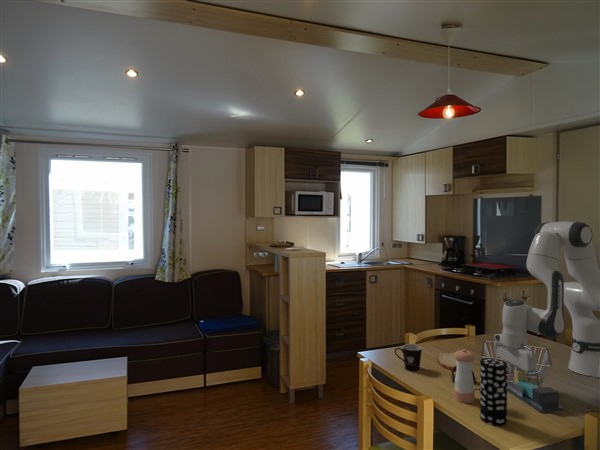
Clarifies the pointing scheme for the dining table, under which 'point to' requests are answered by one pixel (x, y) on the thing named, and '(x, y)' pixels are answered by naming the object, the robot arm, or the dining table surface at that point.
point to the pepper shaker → (464, 377)
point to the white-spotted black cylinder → (493, 391)
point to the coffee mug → (411, 356)
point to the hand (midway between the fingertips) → (514, 374)
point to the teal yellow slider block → (523, 382)
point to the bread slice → (447, 360)
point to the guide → (537, 397)
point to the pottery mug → (455, 375)
